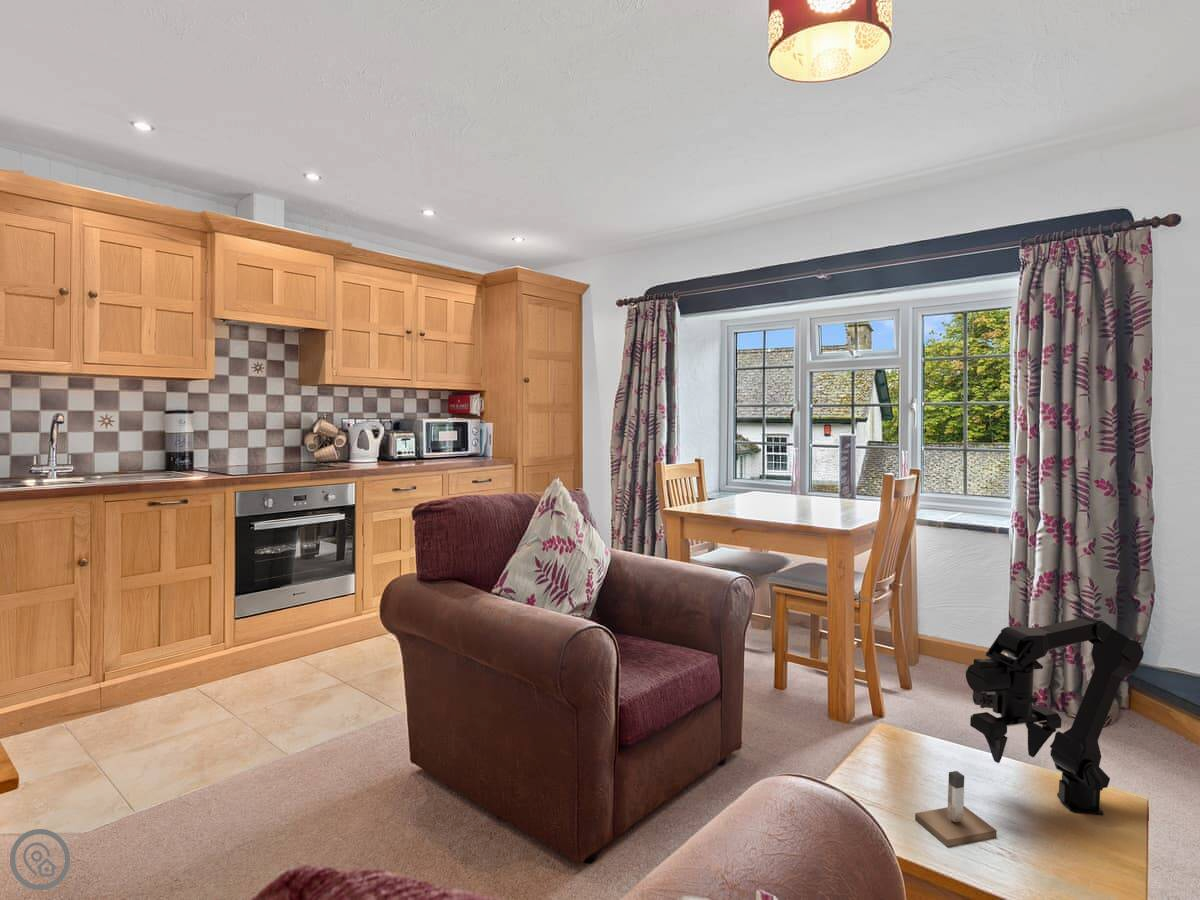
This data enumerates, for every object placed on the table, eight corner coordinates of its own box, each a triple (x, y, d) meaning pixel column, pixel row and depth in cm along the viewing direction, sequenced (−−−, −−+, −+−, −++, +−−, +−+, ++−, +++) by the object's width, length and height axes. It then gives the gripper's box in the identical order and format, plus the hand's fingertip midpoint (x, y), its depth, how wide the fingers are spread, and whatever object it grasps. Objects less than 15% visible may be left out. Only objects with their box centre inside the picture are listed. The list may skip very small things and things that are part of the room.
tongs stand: (962, 811, 144) (963, 759, 143) (996, 837, 135) (998, 781, 134) (915, 819, 141) (916, 766, 140) (947, 847, 132) (949, 790, 131)
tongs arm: (959, 817, 138) (960, 773, 138) (963, 820, 137) (964, 775, 137) (951, 819, 138) (952, 774, 137) (955, 822, 137) (956, 777, 136)
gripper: (1019, 669, 152) (1017, 735, 153) (951, 678, 147) (949, 746, 148) (1064, 689, 141) (1061, 760, 142) (993, 699, 136) (990, 772, 137)
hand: (1014, 759), depth 143 cm, fingers open, 9 cm apart
